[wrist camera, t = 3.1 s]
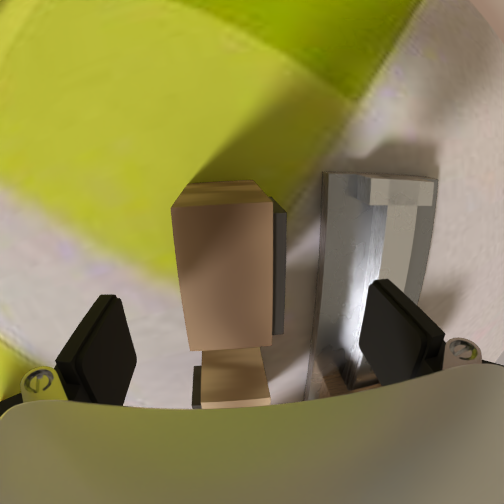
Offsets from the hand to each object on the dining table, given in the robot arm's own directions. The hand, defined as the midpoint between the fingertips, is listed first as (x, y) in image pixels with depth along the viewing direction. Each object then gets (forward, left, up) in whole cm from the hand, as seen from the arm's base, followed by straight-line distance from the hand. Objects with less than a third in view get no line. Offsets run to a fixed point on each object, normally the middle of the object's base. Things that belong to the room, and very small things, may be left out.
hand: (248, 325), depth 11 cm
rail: (+7, +10, -10) cm, 16 cm away
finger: (0, -1, -10) cm, 10 cm away
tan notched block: (+11, -1, -10) cm, 14 cm away
